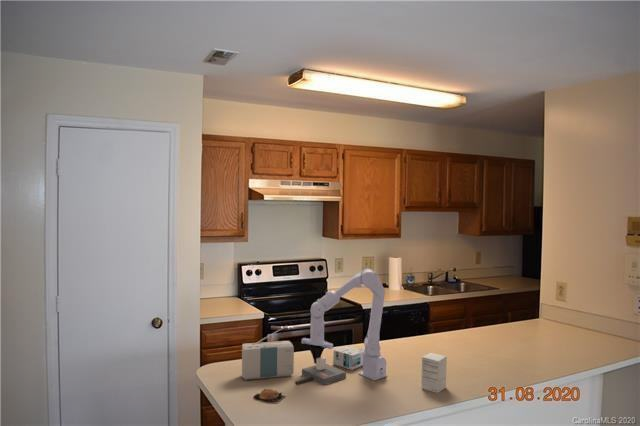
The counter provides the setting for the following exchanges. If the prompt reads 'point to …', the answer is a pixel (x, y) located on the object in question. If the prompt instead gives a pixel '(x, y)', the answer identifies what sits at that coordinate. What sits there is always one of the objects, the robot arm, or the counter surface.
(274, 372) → the stereo radio cassette player
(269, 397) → the bread roll
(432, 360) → the supplement box
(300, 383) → the power cord
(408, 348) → the counter surface
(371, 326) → the robot arm
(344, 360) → the light bulb box
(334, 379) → the box
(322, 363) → the breaker toggle
